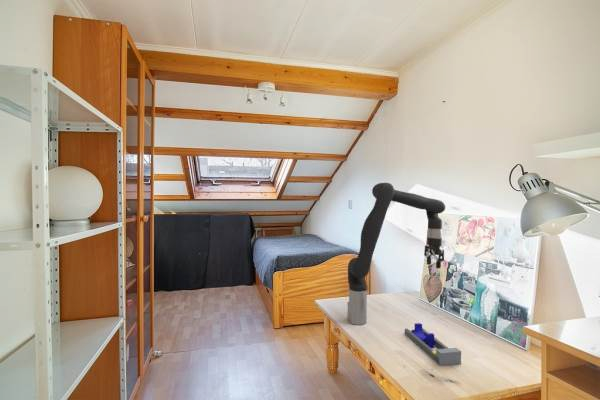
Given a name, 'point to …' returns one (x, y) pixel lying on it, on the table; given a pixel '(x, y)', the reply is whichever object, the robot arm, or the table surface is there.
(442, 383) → the table surface
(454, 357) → the grey u-shaped bracket
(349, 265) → the robot arm
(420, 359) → the table surface
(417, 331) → the blue u-shaped block
